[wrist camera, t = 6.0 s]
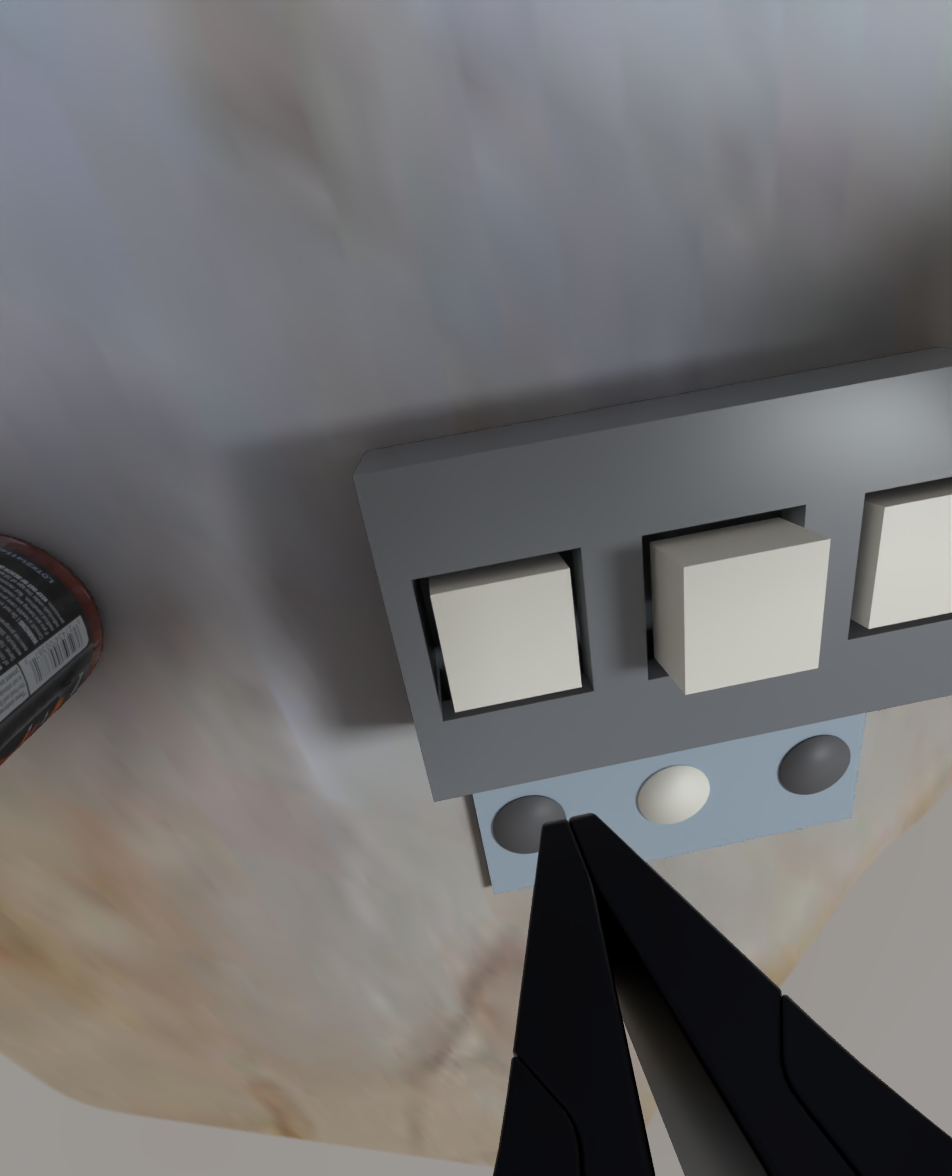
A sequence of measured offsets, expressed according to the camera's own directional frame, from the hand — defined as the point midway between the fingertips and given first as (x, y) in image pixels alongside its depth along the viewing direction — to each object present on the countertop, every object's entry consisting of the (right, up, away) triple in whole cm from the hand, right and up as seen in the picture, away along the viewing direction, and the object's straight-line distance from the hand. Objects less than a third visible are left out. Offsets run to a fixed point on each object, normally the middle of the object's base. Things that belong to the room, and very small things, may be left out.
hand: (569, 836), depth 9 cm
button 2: (+11, +5, +8) cm, 15 cm away
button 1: (-1, +3, +8) cm, 8 cm away
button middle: (+5, +4, +7) cm, 9 cm away
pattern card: (+7, -4, +14) cm, 16 cm away
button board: (+5, +5, +10) cm, 12 cm away
